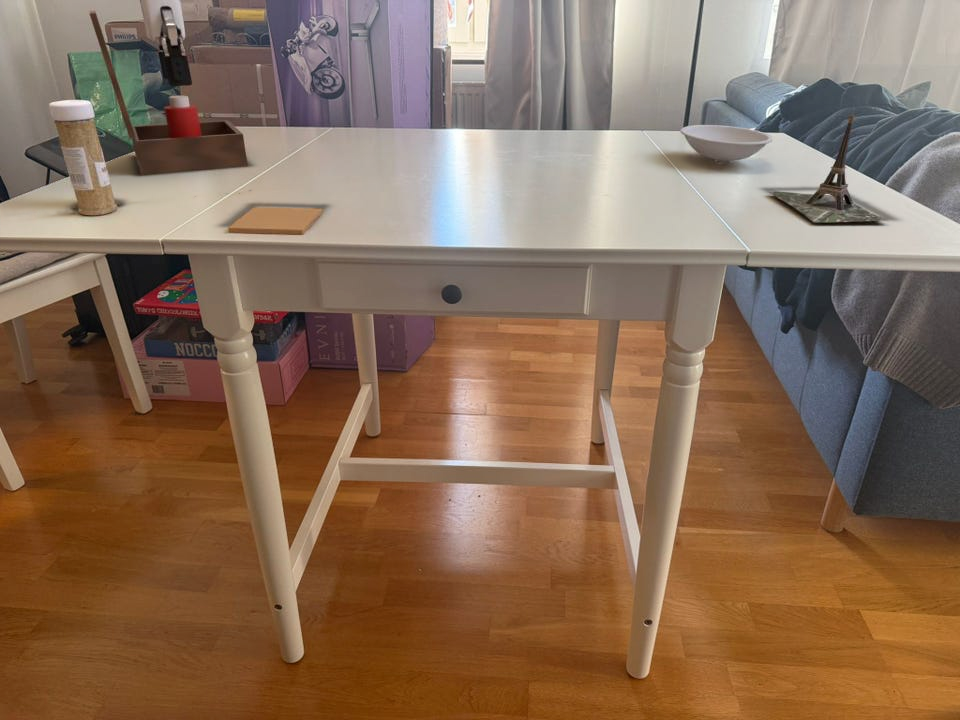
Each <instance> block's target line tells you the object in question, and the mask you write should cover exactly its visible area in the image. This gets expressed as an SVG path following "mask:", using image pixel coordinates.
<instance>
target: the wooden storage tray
mask: <svg viewBox="0 0 960 720" xmlns="http://www.w3.org/2000/svg"><path fill="white" fill-rule="evenodd" d="M199 123H200V128H201V134H202V136H195V137H180V138H170V136H169V131H168V126H167V123H159V124H142V125H132V128H133V131H134V134H135V138H131V141H132V145H133V146H132V147H133V150H134V155H135V158H136V161H137V166H138V170H139V173H140V176H153V175H165V174H177V173H187V172H198V171H200V172H201V171H209V170H221V169H232V168H244V167H245V168H247V167H248V166H249V165H248V157H247V151H246V144H245V139H244V134H243V132H241V131H240V130H239V129H238V128H237V127H236V126H235V125H234V124H233V123H232V122H230V121H229V119H225V120H224V119H223V120H207V121H199Z"/></svg>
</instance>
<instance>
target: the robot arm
mask: <svg viewBox="0 0 960 720" xmlns="http://www.w3.org/2000/svg"><path fill="white" fill-rule="evenodd" d="M139 4H140V8H141V13H142V17H143V23H144V28H145V33H146V37H147V38H148V40H150V41H151V42H154V43H155V42H157V47H158V51H157V54H158V58H159V63H160V69H161V73H162V78H163V79H164V80H167V82H168V84H169V86H171V87H185V86H192V85H193V80H192V75H191V70H190V65H189V64H190V63H189V59H188V56H187V54H186V50H185V46H184V42H183V41H184V40H185V39H186V31H185V22H184V16H183V9H182V4H181V0H139Z"/></svg>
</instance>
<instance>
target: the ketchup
mask: <svg viewBox="0 0 960 720" xmlns="http://www.w3.org/2000/svg"><path fill="white" fill-rule="evenodd" d="M168 101H169V105H166V106H164V107H163V110H164V115H165V120H166V124H167V126H168V131H169V136H170V138H180V137H195V136H202V134H201V128H200V123H199V122H200V117H199V111H198V107H197V105H194V104H190V100H189V96H187V95H171V96H168Z"/></svg>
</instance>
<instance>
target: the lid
mask: <svg viewBox="0 0 960 720" xmlns="http://www.w3.org/2000/svg"><path fill="white" fill-rule="evenodd" d="M88 13H89V17H90V20H91V23H92V26H93V30H94V32H95V36H96V39H97V42H98V45H99V47H100V52H101V54H102V57H103V60H104V63H105V67H106V69H107V73H108V76H109V79H110V82H111V86H112V88H113V92H114V94H115V97H116V100H117V103H118V107H119V109H120V114H121V117H122V119H123V122H124V125H125V129H126V131H127V134H128V137H129V139H131V140H132V138H135V134H134V131H133V128H132V126H133V125H132V121H131V119H130V116H129V112H128V109H127V106H126V103H125V100H124V97H123V94H122V90H121V86H120V84H119V81H118V78H117V75H116V72H115V68H114V65H113V62H112V59H111V56H110V52H109V49H108V47H107V42H106V40H105V36H104V34H103V30H102V28H101V27H102V26H101V25H100V22H99V21H100V20H99V18H98V15H97V12H96V10H89V12H88Z"/></svg>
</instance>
